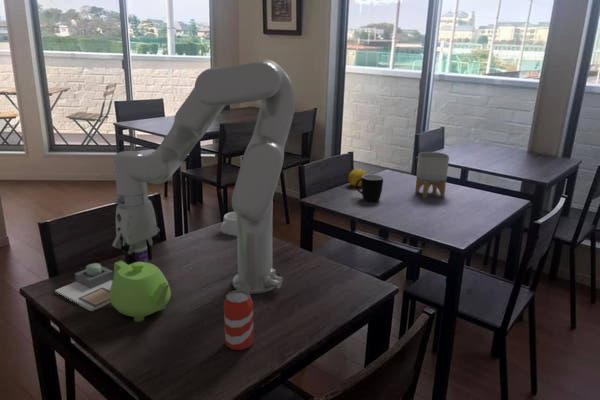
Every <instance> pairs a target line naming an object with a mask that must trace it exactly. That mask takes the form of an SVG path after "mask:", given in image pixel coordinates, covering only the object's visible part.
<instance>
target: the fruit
mask: <svg viewBox="0 0 600 400" xmlns="http://www.w3.org/2000/svg"><path fill="white" fill-rule="evenodd" d="M367 174H368V173H367V172H366V171H365V170H364V169H362V168H355V169H352V170H351V171H350V172H349V173H348V182H349V184H350V185H351V186H353V187H355V188H356V182H357V181H358V180H359V179H362V176H363V175H367ZM359 187H362V181H359V182H358V188H359Z"/></svg>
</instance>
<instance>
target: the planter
mask: <svg viewBox="0 0 600 400" xmlns="http://www.w3.org/2000/svg"><path fill="white" fill-rule="evenodd" d="M449 161H450V155H448V154H446V153H442V152H436V151H435V152H434V151H424V152H423V151H422V152H419V153H418V156H417V164H416V165H417V166H416V167H417V168H416V176H415V177H416V180H415V193H419V192H420V190H421V188H422V187H423V189H422V198H423V199H427V198H428V192H429V190H430V187H431V186H432V192H434V193H436V192H437V191H439V194H440V197H439V198H445V193H446V185H447V177H448V169H449V163H450V162H449Z"/></svg>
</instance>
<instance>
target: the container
mask: <svg viewBox="0 0 600 400" xmlns="http://www.w3.org/2000/svg"><path fill="white" fill-rule="evenodd" d="M133 253H134V254H135V262H146V263H149V260H148V252H147V243H146V239H145V240H143V241H140V242H138V243H135V244H133Z"/></svg>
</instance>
